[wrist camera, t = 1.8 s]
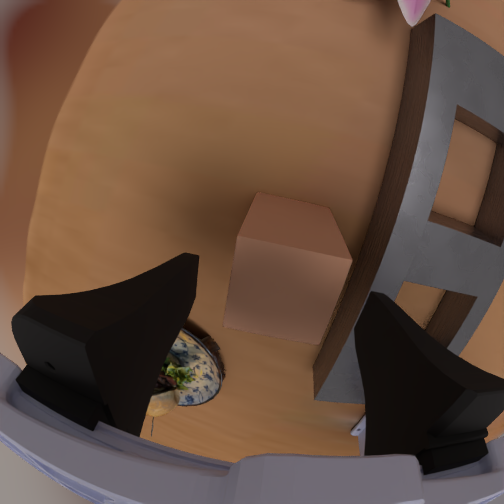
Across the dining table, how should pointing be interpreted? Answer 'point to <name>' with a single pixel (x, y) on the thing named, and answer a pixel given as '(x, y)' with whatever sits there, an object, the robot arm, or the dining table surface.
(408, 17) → the lily
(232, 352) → the dining table surface
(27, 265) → the dining table surface
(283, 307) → the peg
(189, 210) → the dining table surface
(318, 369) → the grey slotted board
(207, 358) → the burger
